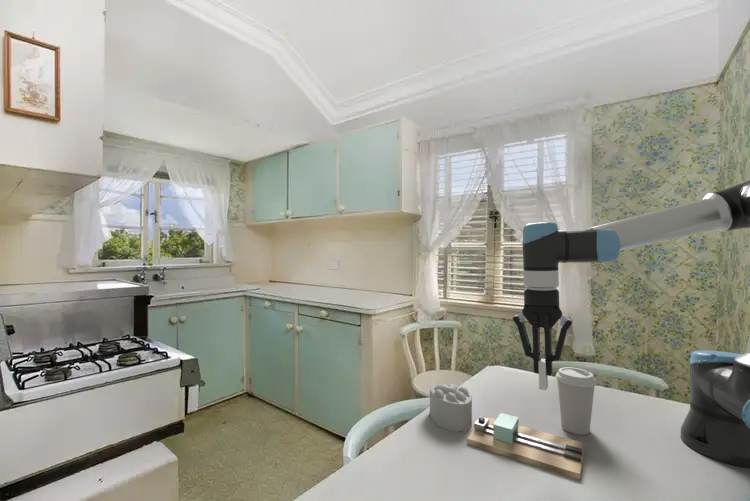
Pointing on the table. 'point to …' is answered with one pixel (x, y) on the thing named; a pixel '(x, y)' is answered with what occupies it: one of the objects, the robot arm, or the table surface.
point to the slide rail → (568, 451)
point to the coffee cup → (575, 399)
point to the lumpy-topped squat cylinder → (451, 407)
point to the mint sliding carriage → (505, 427)
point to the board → (531, 450)
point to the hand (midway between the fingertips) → (543, 387)
